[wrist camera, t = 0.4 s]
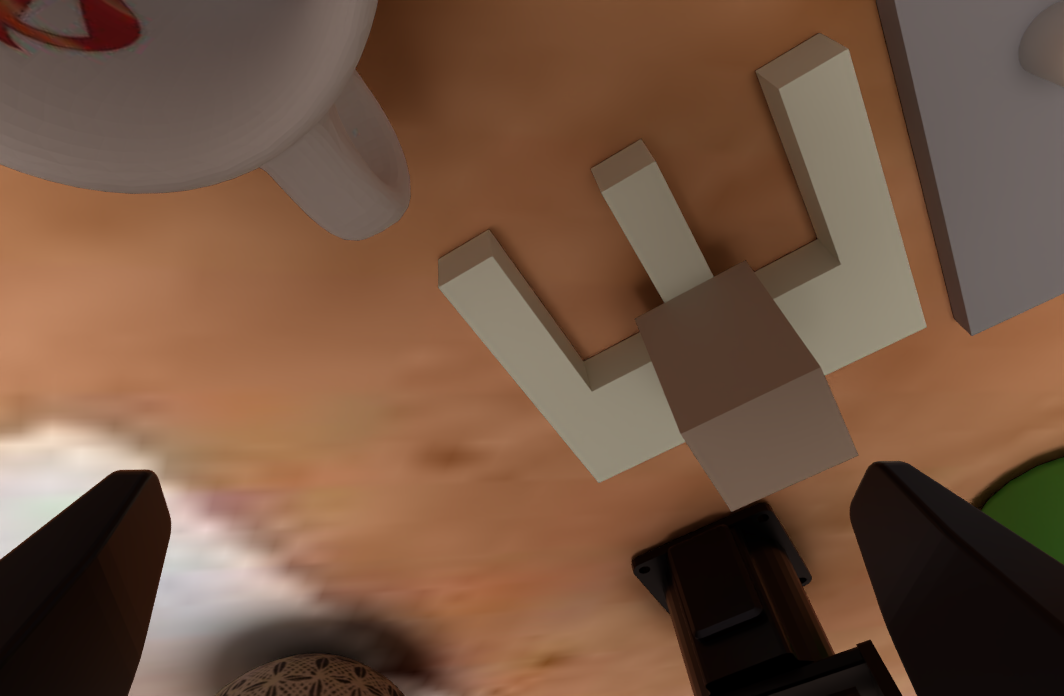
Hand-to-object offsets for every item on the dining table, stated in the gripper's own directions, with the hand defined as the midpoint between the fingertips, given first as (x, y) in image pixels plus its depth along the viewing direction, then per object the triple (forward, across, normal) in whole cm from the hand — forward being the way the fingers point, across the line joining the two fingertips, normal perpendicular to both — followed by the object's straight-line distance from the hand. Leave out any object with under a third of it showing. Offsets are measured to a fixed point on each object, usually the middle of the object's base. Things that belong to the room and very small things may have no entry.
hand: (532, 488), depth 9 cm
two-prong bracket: (+13, -6, +4) cm, 15 cm away
